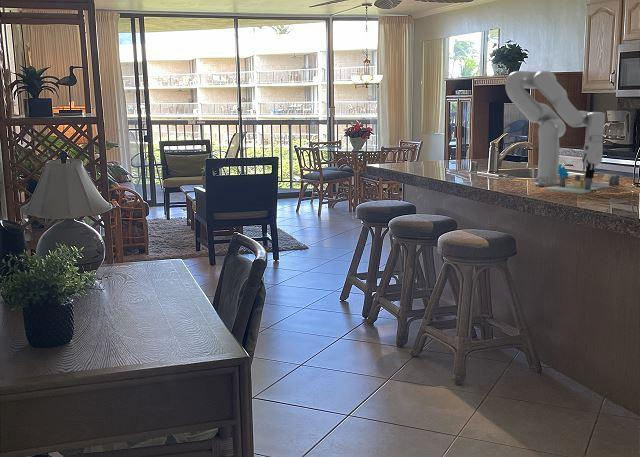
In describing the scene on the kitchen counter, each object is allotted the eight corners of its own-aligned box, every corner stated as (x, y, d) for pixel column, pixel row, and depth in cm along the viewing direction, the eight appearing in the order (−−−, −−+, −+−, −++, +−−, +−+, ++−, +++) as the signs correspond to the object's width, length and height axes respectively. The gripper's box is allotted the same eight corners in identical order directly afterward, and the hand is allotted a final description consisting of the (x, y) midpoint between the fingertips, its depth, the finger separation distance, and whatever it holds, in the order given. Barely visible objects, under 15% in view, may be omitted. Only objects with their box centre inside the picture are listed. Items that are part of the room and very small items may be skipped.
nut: (583, 188, 311) (584, 181, 311) (570, 187, 317) (570, 180, 316) (591, 187, 315) (592, 180, 314) (578, 186, 320) (578, 179, 320)
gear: (558, 176, 356) (550, 161, 361) (551, 183, 360) (543, 168, 365) (573, 177, 361) (565, 163, 366) (566, 184, 365) (558, 170, 370)
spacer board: (580, 193, 303) (581, 181, 302) (545, 189, 317) (546, 178, 316) (621, 186, 323) (622, 175, 322) (586, 183, 337) (587, 172, 336)
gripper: (592, 140, 311) (587, 180, 315) (610, 139, 320) (605, 177, 324) (577, 138, 317) (573, 177, 321) (595, 137, 325) (590, 175, 329)
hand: (589, 177), depth 322 cm, fingers closed
